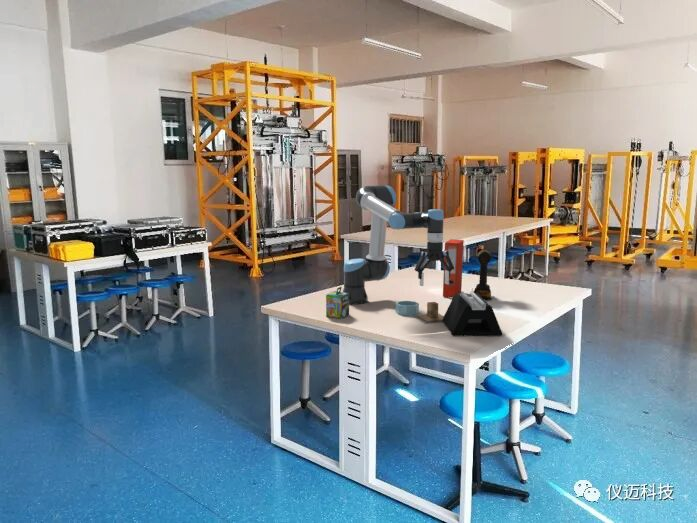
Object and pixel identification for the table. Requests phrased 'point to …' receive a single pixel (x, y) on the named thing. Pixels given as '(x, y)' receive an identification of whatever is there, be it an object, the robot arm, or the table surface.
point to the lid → (431, 313)
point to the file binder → (456, 274)
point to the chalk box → (337, 304)
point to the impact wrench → (483, 275)
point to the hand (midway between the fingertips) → (434, 284)
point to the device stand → (471, 317)
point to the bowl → (407, 308)
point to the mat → (425, 322)
